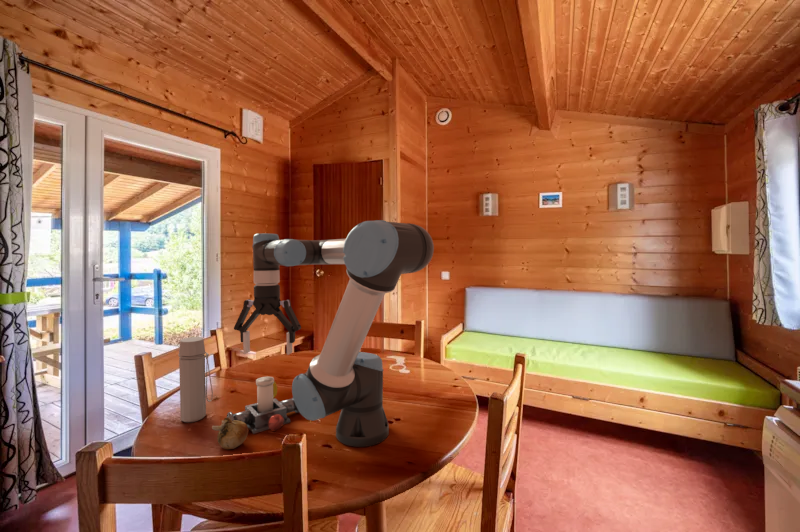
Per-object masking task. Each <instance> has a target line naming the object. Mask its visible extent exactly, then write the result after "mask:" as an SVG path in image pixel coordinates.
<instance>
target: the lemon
mask: <svg viewBox="0 0 800 532" xmlns="http://www.w3.org/2000/svg"><path fill="white" fill-rule="evenodd" d="M277 394H278V385H277V383H276V381H275V380H274V383H273V399H274V398H275V399H276V397H277Z"/></svg>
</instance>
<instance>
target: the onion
mask: <svg viewBox="0 0 800 532" xmlns="http://www.w3.org/2000/svg"><path fill="white" fill-rule="evenodd" d="M211 429H212V430H213V431H218V433H217V443H218V446H220V447H221V448H222V449H224V450H233V449H236V448H237V447H239V446H241V445H243V443H244V441H246V440H247V437H248V434H249V428H248V426H247V425H246V423H244V422H242V421H238V420H234V421H232V420H230V418H227V417H224V418H223V419H222V420H221V424H220V425H212V426H211Z"/></svg>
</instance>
